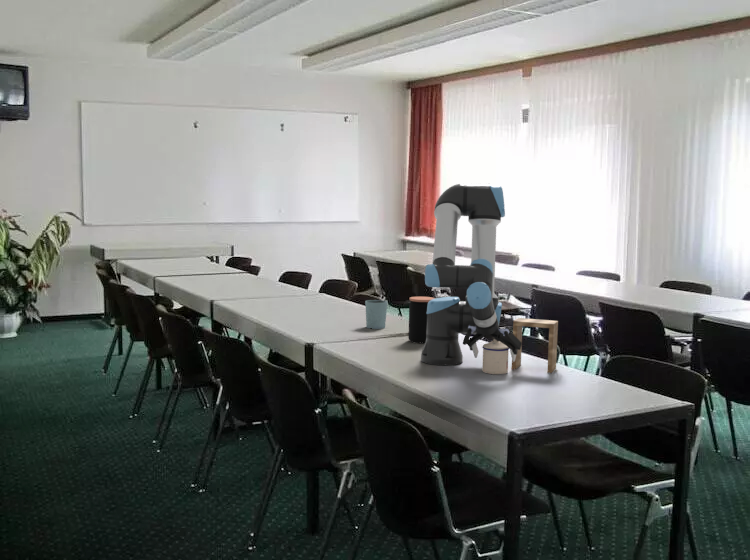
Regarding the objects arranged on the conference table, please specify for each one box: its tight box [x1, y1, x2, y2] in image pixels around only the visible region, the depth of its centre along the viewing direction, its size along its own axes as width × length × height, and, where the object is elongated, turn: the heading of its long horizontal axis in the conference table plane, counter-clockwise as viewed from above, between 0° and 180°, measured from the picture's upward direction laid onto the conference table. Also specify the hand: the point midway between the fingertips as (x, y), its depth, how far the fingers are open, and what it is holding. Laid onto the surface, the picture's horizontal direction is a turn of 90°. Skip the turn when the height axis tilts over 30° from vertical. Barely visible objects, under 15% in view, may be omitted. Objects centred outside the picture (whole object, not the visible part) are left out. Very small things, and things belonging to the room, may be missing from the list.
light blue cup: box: [364, 299, 388, 330], centre depth 360 cm, size 10×10×12 cm
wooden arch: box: [511, 317, 559, 374], centre depth 278 cm, size 14×8×17 cm, turn 67°
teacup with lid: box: [481, 339, 510, 375], centre depth 274 cm, size 12×9×12 cm
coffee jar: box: [407, 296, 436, 344], centre depth 327 cm, size 11×11×18 cm
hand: (495, 356), depth 276 cm, fingers open, 13 cm apart
